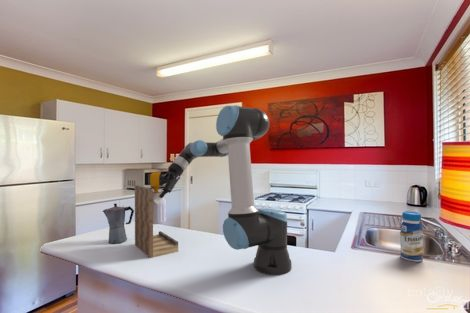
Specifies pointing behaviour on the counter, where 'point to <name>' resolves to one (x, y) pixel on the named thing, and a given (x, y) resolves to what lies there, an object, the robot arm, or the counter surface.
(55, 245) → the counter surface
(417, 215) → the beverage bottle
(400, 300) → the counter surface
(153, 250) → the cleat shelf
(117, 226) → the moka pot
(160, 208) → the soap bottle
